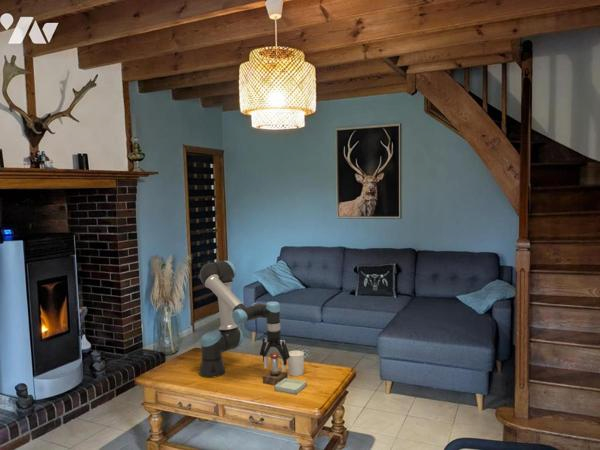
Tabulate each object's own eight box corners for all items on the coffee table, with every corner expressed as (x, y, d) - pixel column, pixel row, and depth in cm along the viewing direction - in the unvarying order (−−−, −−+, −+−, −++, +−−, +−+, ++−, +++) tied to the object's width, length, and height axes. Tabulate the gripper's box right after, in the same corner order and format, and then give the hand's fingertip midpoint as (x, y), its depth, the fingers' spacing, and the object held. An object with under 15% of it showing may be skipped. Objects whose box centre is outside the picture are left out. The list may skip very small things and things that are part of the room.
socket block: (262, 383, 254) (262, 376, 254) (272, 376, 263) (272, 370, 262) (278, 386, 249) (278, 378, 249) (287, 379, 258) (287, 372, 258)
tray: (274, 390, 243) (274, 385, 243) (285, 382, 254) (285, 377, 254) (295, 394, 237) (295, 390, 237) (306, 386, 248) (306, 381, 248)
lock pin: (269, 382, 255) (268, 354, 254) (273, 379, 259) (273, 352, 258) (276, 383, 253) (276, 355, 252) (281, 380, 257) (280, 353, 256)
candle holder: (302, 377, 261) (302, 356, 260) (286, 376, 263) (285, 355, 262) (306, 370, 271) (305, 350, 270) (289, 370, 273) (289, 350, 272)
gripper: (252, 329, 257) (253, 368, 258) (288, 334, 246) (289, 374, 247) (259, 326, 263) (261, 363, 264) (295, 330, 252) (296, 369, 253)
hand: (275, 369), depth 256 cm, fingers open, 11 cm apart
